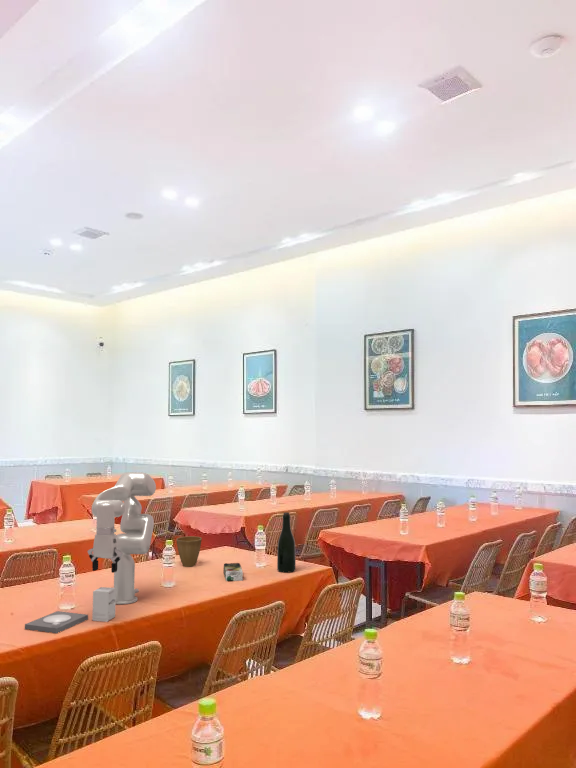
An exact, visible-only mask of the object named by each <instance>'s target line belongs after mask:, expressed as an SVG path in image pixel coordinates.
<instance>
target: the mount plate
mask: <svg viewBox="0 0 576 768" xmlns="http://www.w3.org/2000/svg"><path fill="white" fill-rule="evenodd" d="M85 620H86V621H88V620H89V614H86V613H85V614H84V613H78V612H77V613H76V612H69V611H59V610H57V611H53V612H52V613H50V614H47V615H44V616H42V617H40V618H37V619H34V620H32V621H29V622H27V623H24V630H27V629H30V630H29V631H34V630H38V631H37V632H42V631H45V632H44V633H49V632H52V633H51V634H58V632H59V633H61V632H63V631H65V629H66V630H67V629H69V628H72V627H75V626H77V625H79V624H81V623H83V622H86V621H85ZM76 624H77V625H76ZM60 631H61V632H60Z"/></svg>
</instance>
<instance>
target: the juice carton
mask: <svg viewBox="0 0 576 768" xmlns="http://www.w3.org/2000/svg"><path fill="white" fill-rule="evenodd" d="M243 575H244V574H243V569H242V565H241V564H240V563H239V562H234V563H225V562H224V563H223V576H224V579H225V582H230V581H233V582H239V581H241V582H243V581H244V578H243V577H244V576H243Z"/></svg>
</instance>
